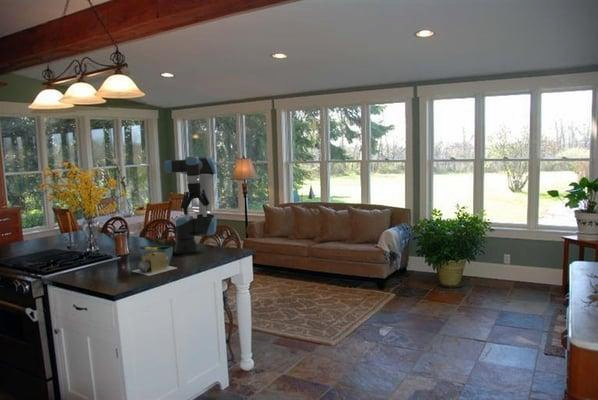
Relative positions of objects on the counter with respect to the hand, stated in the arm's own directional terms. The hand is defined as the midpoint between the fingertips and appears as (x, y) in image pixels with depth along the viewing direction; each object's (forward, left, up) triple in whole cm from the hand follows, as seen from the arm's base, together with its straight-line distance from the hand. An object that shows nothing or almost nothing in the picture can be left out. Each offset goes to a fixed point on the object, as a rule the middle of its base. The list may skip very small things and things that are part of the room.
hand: (196, 218), depth 284 cm
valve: (-8, -25, -27) cm, 38 cm away
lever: (-13, -25, -16) cm, 32 cm away
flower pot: (-21, -10, -28) cm, 36 cm away
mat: (-8, -25, -27) cm, 38 cm away
